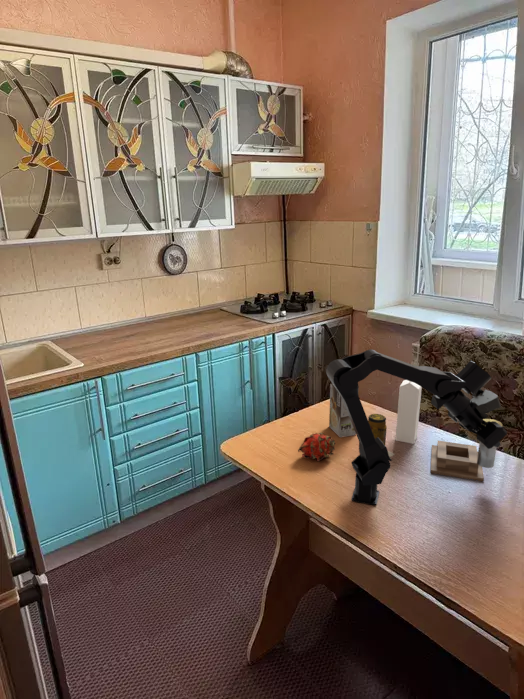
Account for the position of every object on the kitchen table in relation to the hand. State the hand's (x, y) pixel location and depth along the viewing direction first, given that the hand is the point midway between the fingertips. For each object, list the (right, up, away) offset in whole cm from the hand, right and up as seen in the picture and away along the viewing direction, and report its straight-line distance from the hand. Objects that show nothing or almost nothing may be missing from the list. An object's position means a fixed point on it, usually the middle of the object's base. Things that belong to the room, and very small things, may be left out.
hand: (493, 441), depth 131 cm
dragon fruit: (-45, -9, +19) cm, 50 cm away
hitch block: (-4, -10, +15) cm, 18 cm away
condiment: (-26, -8, +22) cm, 35 cm away
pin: (-1, -6, +2) cm, 7 cm away
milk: (-14, -5, +31) cm, 34 cm away
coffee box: (-34, -3, +37) cm, 50 cm away
